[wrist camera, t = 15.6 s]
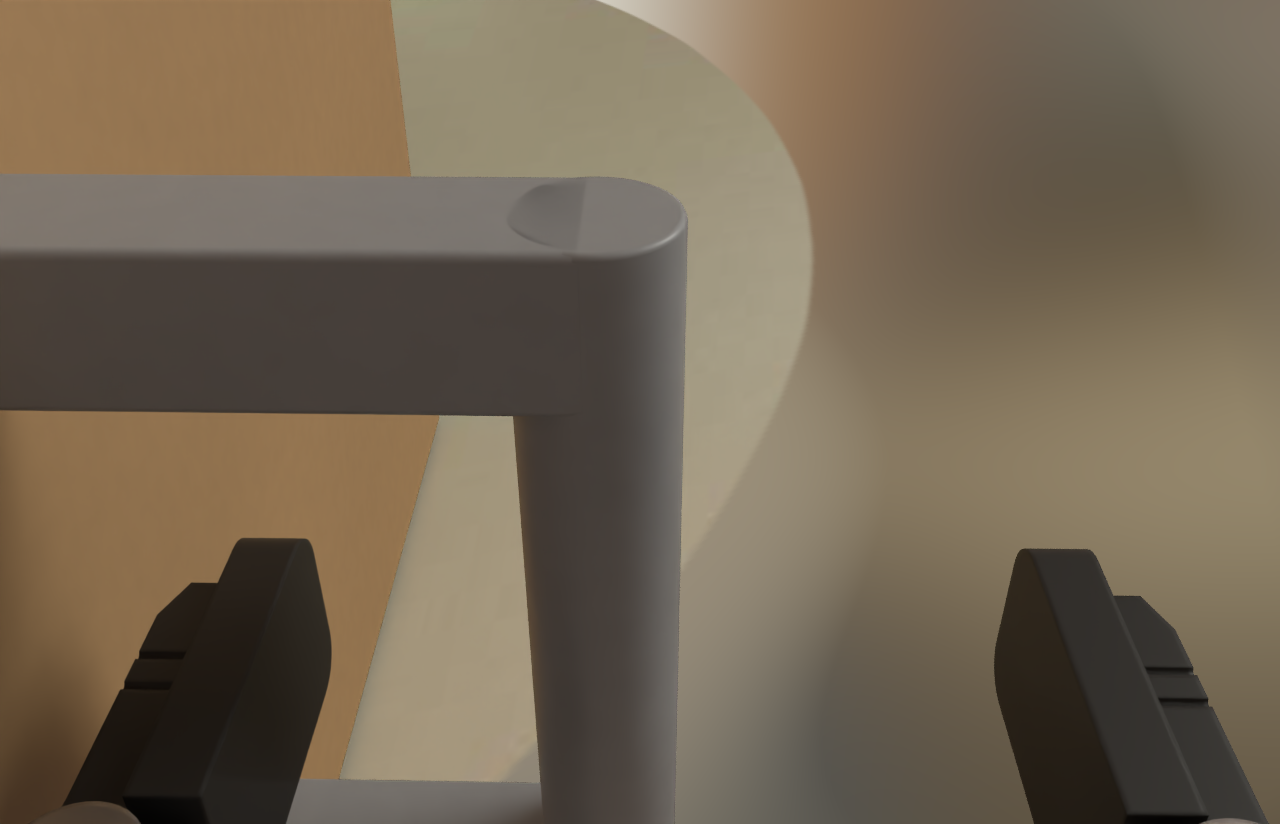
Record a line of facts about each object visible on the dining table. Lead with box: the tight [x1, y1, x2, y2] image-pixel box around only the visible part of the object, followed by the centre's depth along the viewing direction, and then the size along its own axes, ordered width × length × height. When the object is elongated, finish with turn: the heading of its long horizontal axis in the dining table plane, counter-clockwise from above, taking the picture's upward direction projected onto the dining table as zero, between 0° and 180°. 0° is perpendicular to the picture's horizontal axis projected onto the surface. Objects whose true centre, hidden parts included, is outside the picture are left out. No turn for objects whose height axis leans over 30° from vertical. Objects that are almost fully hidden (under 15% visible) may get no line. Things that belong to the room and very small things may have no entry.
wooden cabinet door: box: [0, 0, 688, 824], centre depth 20 cm, size 8×22×22 cm, turn 179°
